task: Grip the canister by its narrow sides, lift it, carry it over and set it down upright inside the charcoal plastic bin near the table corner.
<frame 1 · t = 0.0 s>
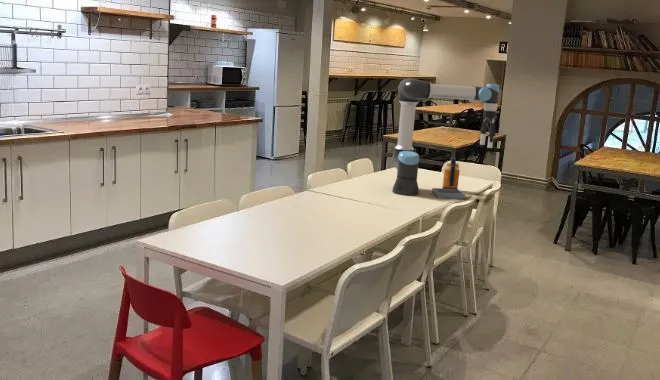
hand: (486, 146, 369), 28 cm above the table, tool pointing down, fingers open, 13 cm apart
canister: (449, 191, 373), on the table
bin: (447, 196, 356), on the table
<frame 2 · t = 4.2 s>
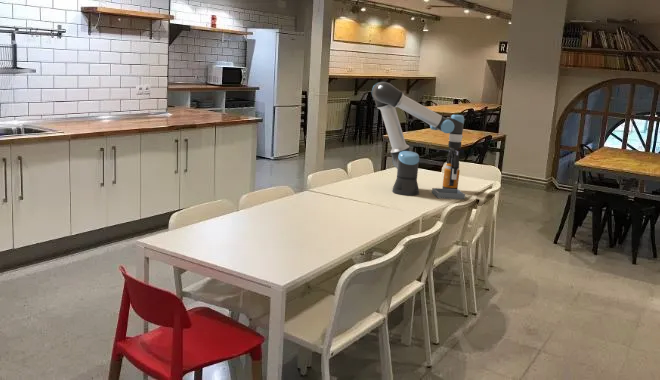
hand: (451, 177, 371), 8 cm above the table, tool pointing down, fingers closed on canister, 10 cm apart
canister: (449, 190, 373), on the table, touching gripper
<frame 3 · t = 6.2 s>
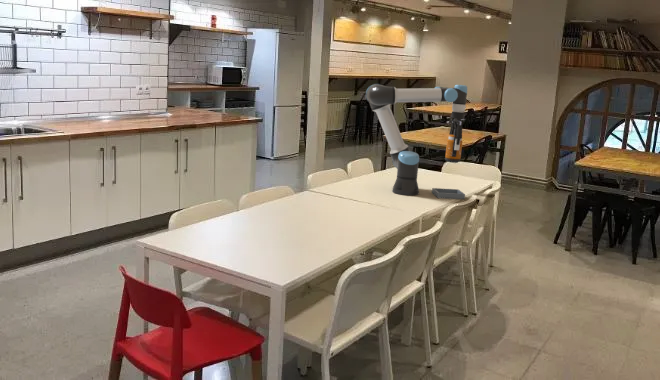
hand: (454, 148, 368), 25 cm above the table, tool pointing down, fingers closed on canister, 10 cm apart
canister: (452, 162, 369), point 17 cm above the table, touching gripper
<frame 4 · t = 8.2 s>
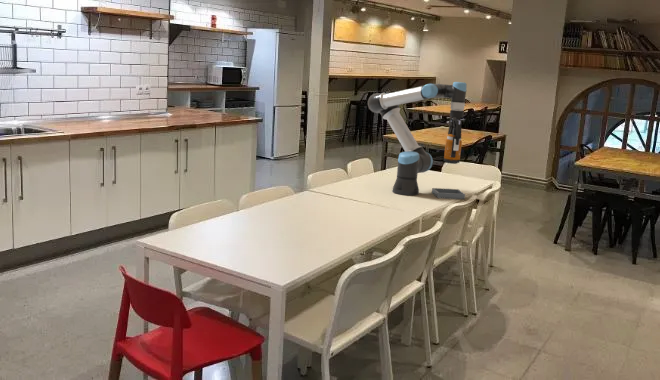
hand: (452, 149, 350), 27 cm above the table, tool pointing down, fingers closed on canister, 10 cm apart
canister: (451, 163, 352), point 19 cm above the table, touching gripper
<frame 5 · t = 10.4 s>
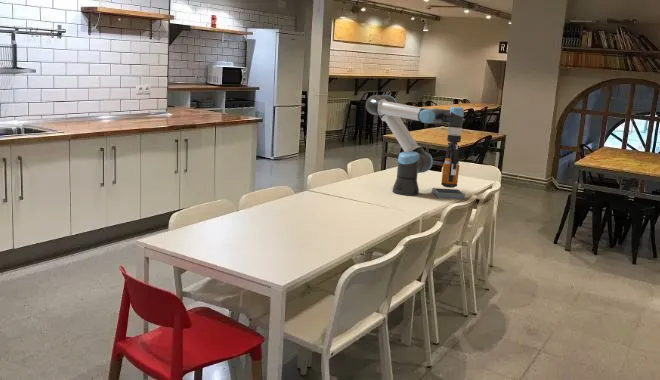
hand: (450, 173, 353), 13 cm above the table, tool pointing down, fingers closed on canister, 10 cm apart
canister: (449, 187, 354), point 5 cm above the table, touching gripper
when the fingers open (10 cm above the table, at t = 12.2 s): canister drops 1 cm, resting on bin.
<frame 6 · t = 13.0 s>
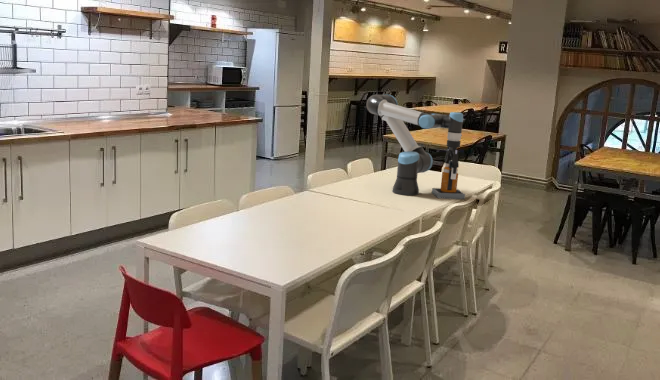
hand: (449, 177, 353), 11 cm above the table, tool pointing down, fingers open, 13 cm apart
canister: (448, 195, 355), resting on bin
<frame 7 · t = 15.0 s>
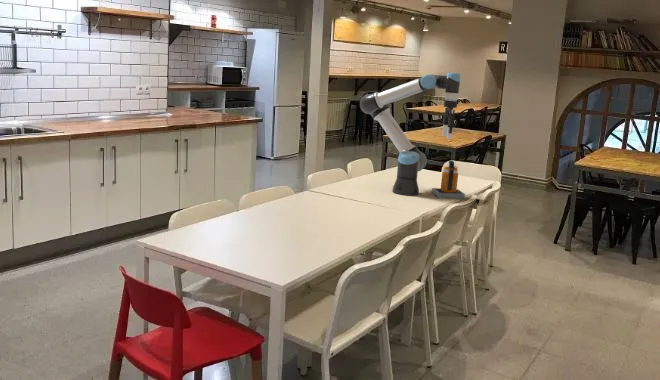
hand: (446, 137, 356), 33 cm above the table, tool pointing down, fingers open, 13 cm apart
nothing on the table moved.
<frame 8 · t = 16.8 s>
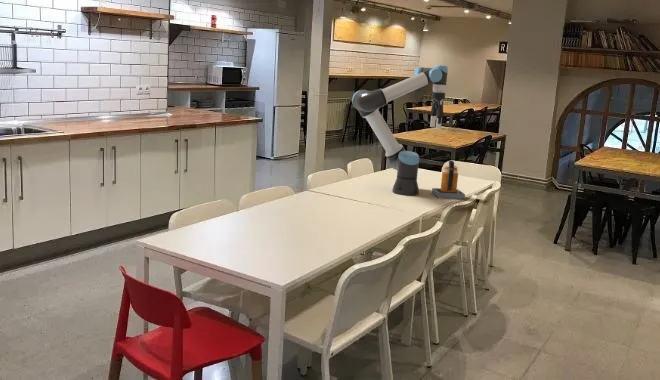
hand: (435, 128, 367), 37 cm above the table, tool pointing down, fingers open, 13 cm apart
nothing on the table moved.
at the end: canister 0.3 cm off-centre on the bin, point 0.4 cm above the bin's base; canister tilted 0°; the gripper is holding nothing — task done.
